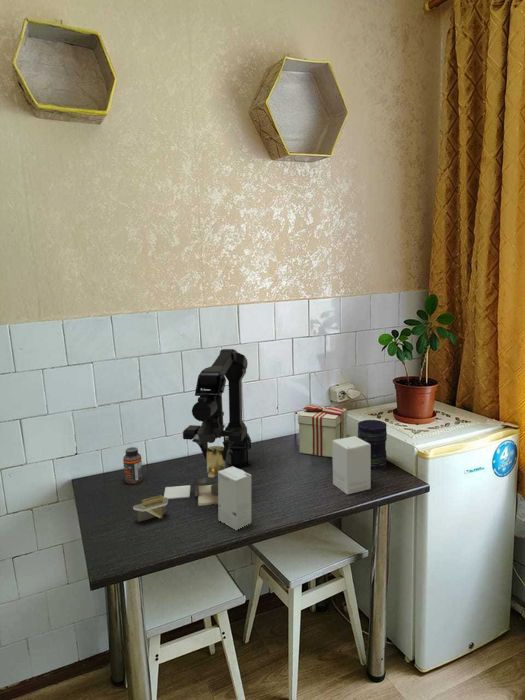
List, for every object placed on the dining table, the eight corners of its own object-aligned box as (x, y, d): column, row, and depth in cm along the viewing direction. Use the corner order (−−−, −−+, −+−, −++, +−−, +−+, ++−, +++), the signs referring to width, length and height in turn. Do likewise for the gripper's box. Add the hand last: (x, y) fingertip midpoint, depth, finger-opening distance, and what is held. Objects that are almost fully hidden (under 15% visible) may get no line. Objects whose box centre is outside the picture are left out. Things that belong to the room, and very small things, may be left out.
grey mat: (190, 486, 163) (190, 485, 163) (189, 497, 155) (189, 496, 155) (165, 488, 162) (165, 487, 162) (163, 499, 154) (163, 498, 154)
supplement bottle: (121, 482, 168) (118, 450, 166) (133, 475, 173) (130, 444, 171) (134, 485, 165) (132, 453, 163) (146, 478, 170) (144, 447, 168)
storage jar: (364, 457, 181) (364, 418, 179) (390, 463, 176) (391, 422, 173) (353, 467, 174) (352, 426, 171) (379, 473, 168) (380, 430, 165)
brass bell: (213, 463, 160) (212, 442, 159) (229, 464, 159) (228, 443, 157) (202, 476, 150) (200, 453, 149) (219, 478, 149) (218, 454, 148)
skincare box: (218, 521, 140) (215, 471, 138) (234, 513, 144) (232, 464, 142) (237, 531, 134) (234, 480, 132) (253, 523, 138) (251, 473, 136)
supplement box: (371, 489, 156) (371, 444, 154) (347, 495, 153) (346, 449, 150) (355, 478, 164) (355, 435, 162) (332, 483, 161) (331, 439, 158)
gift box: (349, 442, 198) (349, 400, 195) (339, 459, 181) (339, 413, 178) (308, 438, 204) (307, 397, 201) (294, 454, 187) (293, 410, 184)
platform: (190, 520, 142) (188, 499, 141) (126, 539, 133) (124, 516, 132) (175, 503, 152) (174, 483, 151) (116, 520, 144) (114, 499, 142)
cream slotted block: (238, 484, 163) (238, 469, 162) (241, 502, 151) (240, 485, 150) (195, 488, 161) (194, 472, 160) (194, 506, 149) (193, 489, 148)
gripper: (173, 418, 146) (177, 468, 148) (235, 420, 141) (237, 472, 144) (188, 407, 156) (191, 454, 159) (245, 409, 152) (247, 457, 155)
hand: (215, 459), depth 154 cm, fingers closed on brass bell, 6 cm apart
